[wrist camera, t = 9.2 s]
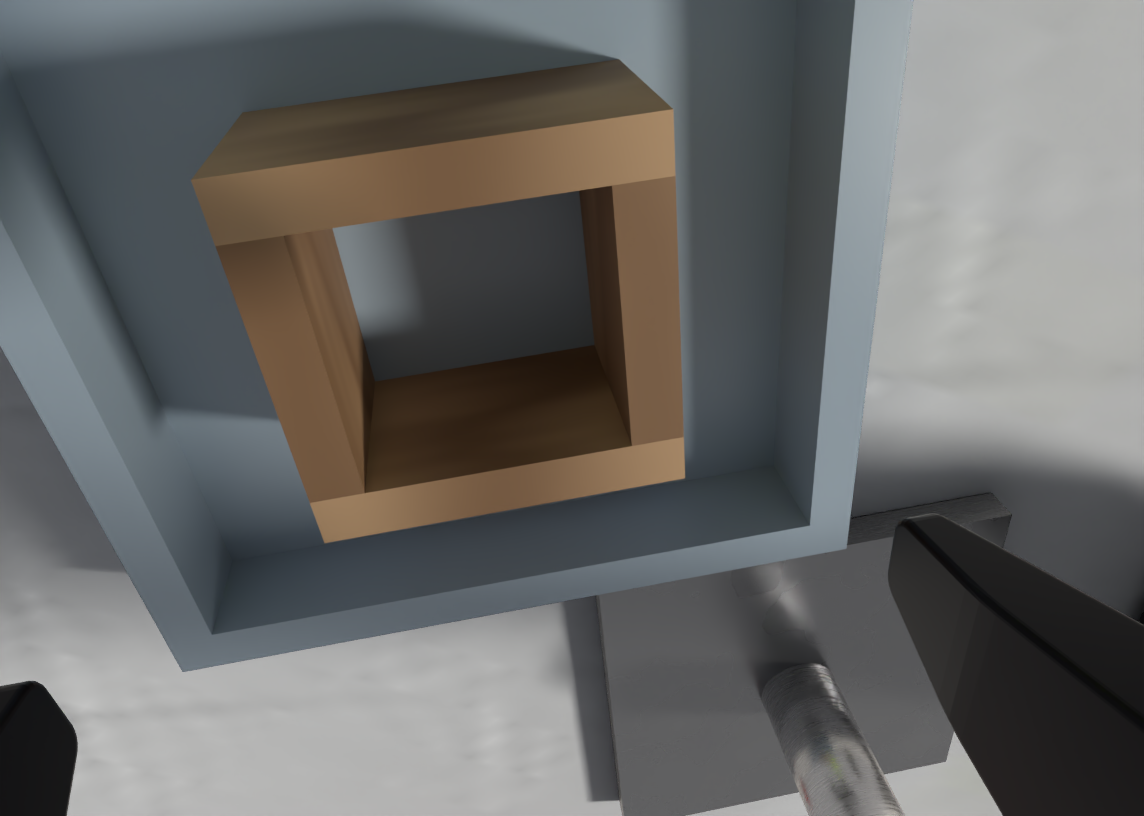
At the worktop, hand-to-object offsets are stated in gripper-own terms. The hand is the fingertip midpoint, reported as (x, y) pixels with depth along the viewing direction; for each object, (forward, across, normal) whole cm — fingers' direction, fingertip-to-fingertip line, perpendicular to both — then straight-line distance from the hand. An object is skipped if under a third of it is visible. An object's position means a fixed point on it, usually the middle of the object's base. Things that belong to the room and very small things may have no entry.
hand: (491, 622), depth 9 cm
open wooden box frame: (+10, 0, 0) cm, 10 cm away
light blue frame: (+11, 0, 0) cm, 11 cm away
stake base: (+11, -8, +16) cm, 21 cm away
